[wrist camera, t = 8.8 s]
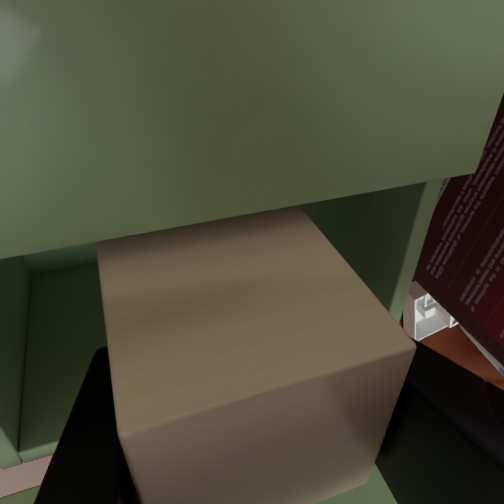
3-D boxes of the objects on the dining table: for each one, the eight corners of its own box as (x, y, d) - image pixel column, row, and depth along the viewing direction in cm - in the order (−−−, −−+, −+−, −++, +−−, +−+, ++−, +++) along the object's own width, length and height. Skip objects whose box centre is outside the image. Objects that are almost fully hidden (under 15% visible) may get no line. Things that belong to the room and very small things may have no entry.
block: (286, 334, 11) (368, 483, 8) (130, 376, 10) (160, 565, 7) (297, 202, 9) (419, 345, 6) (94, 238, 8) (117, 437, 5)
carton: (293, 225, 19) (405, 373, 13) (21, 278, 16) (-3, 504, 10) (326, -194, 11) (661, -335, 5) (-195, -241, 8) (-996, -749, 2)
